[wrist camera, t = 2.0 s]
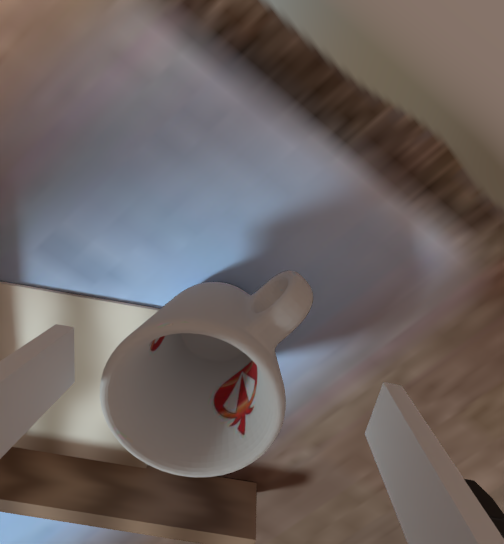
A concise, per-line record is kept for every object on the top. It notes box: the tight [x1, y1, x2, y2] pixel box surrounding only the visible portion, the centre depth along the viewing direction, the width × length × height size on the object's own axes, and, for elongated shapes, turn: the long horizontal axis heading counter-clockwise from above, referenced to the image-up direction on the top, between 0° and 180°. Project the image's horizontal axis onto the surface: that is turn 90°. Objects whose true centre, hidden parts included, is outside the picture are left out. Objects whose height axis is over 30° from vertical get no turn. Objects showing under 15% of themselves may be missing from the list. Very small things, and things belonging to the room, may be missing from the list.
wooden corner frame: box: [0, 281, 257, 544], centre depth 19 cm, size 23×20×4 cm
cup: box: [100, 271, 313, 477], centre depth 16 cm, size 11×8×8 cm
